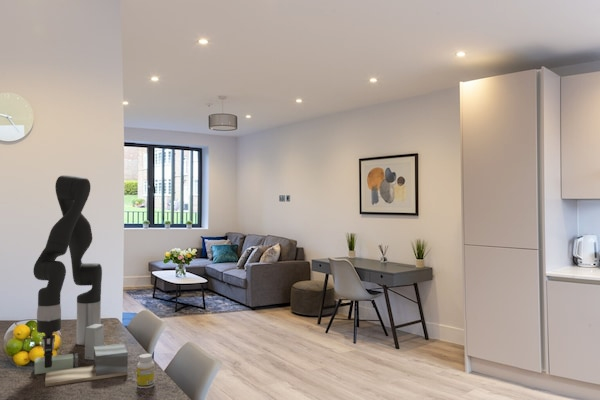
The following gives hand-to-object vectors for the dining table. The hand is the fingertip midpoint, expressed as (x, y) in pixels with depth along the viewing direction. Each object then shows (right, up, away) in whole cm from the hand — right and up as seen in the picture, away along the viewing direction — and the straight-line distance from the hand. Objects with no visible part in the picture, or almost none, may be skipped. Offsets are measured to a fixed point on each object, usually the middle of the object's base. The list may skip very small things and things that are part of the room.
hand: (48, 363), depth 168 cm
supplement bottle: (+39, -3, -14) cm, 41 cm away
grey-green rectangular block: (+2, -2, +1) cm, 3 cm away
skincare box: (+10, -3, +14) cm, 18 cm away
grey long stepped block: (+16, -2, -4) cm, 16 cm away
